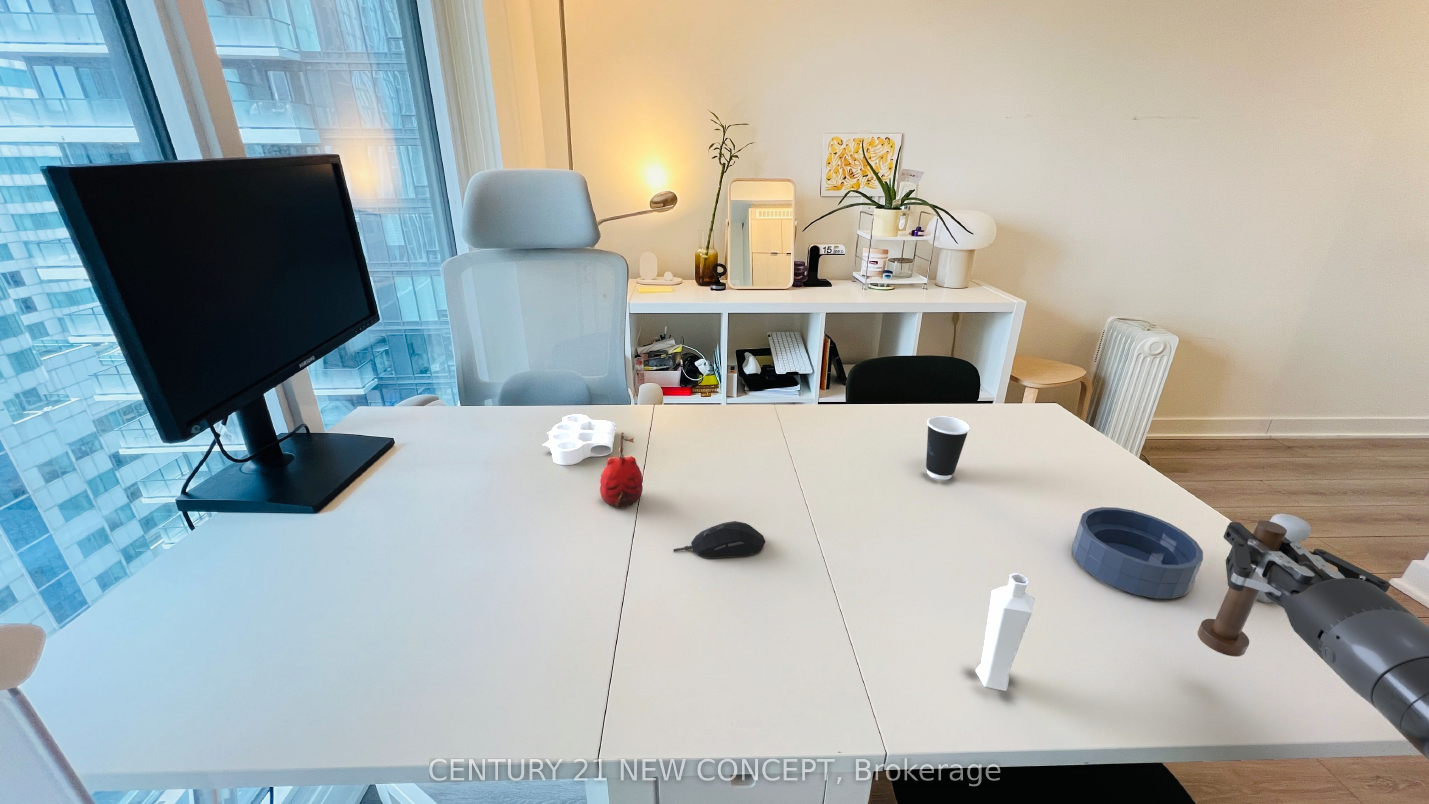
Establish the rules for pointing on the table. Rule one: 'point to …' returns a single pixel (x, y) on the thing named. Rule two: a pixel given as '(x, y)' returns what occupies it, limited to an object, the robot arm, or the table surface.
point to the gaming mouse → (727, 541)
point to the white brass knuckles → (580, 439)
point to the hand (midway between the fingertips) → (1245, 530)
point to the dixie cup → (944, 445)
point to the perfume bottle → (1004, 631)
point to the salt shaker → (1289, 536)
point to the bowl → (1137, 552)
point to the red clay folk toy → (621, 480)
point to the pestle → (1238, 603)
